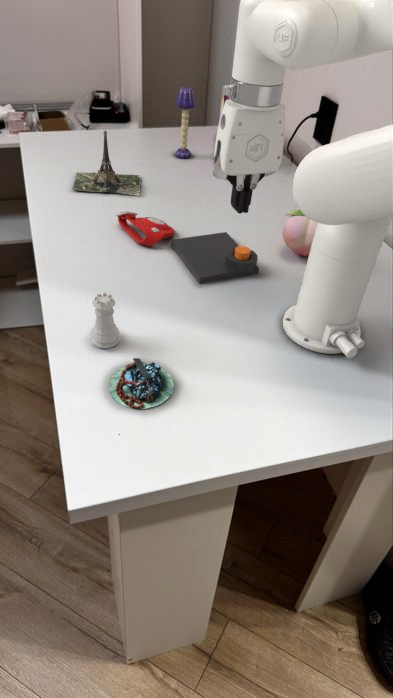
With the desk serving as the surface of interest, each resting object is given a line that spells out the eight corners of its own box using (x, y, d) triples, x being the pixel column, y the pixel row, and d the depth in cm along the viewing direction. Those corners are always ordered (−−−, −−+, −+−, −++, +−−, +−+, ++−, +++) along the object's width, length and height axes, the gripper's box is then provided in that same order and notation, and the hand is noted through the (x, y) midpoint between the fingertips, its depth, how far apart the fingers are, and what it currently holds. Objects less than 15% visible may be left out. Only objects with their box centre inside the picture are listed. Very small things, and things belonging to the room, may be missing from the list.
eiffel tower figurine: (140, 177, 127) (141, 119, 119) (139, 195, 120) (140, 135, 111) (77, 174, 126) (73, 115, 117) (72, 192, 118) (67, 131, 110)
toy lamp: (190, 160, 138) (196, 91, 128) (173, 158, 138) (176, 90, 127) (191, 153, 142) (196, 86, 131) (173, 152, 142) (177, 84, 131)
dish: (182, 389, 71) (138, 354, 69) (147, 428, 71) (102, 395, 69) (176, 372, 78) (136, 340, 76) (144, 408, 79) (104, 378, 77)
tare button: (252, 259, 97) (253, 252, 96) (238, 261, 96) (239, 254, 95) (245, 252, 99) (246, 244, 98) (231, 254, 98) (232, 246, 97)
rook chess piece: (114, 352, 79) (113, 309, 74) (86, 346, 79) (83, 303, 74) (124, 334, 82) (123, 291, 77) (96, 328, 83) (94, 286, 77)
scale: (260, 274, 99) (263, 260, 97) (199, 285, 94) (201, 270, 92) (227, 237, 108) (228, 224, 106) (170, 245, 104) (171, 232, 102)
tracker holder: (175, 220, 110) (177, 233, 101) (169, 240, 112) (170, 254, 103) (118, 203, 107) (114, 214, 98) (113, 224, 109) (109, 236, 100)
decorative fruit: (326, 249, 108) (338, 203, 101) (322, 269, 102) (335, 222, 95) (280, 240, 109) (290, 194, 103) (274, 259, 103) (284, 211, 97)
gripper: (219, 102, 72) (207, 224, 84) (312, 98, 77) (289, 215, 89) (198, 86, 78) (190, 204, 89) (287, 84, 82) (268, 196, 94)
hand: (239, 209), depth 89 cm, fingers closed
